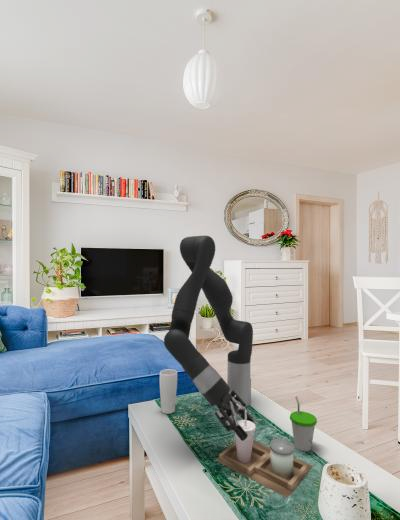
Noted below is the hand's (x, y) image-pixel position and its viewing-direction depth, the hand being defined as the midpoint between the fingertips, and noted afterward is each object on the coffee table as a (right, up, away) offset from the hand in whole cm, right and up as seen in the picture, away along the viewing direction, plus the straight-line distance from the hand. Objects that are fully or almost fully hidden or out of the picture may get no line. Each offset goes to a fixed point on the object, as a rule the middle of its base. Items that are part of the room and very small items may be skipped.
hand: (248, 430), depth 93 cm
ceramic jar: (+8, -8, -5) cm, 13 cm away
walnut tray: (+4, -10, -1) cm, 10 cm away
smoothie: (-1, -8, +1) cm, 9 cm away
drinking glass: (-26, -9, +31) cm, 42 cm away
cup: (+18, -10, +7) cm, 21 cm away
